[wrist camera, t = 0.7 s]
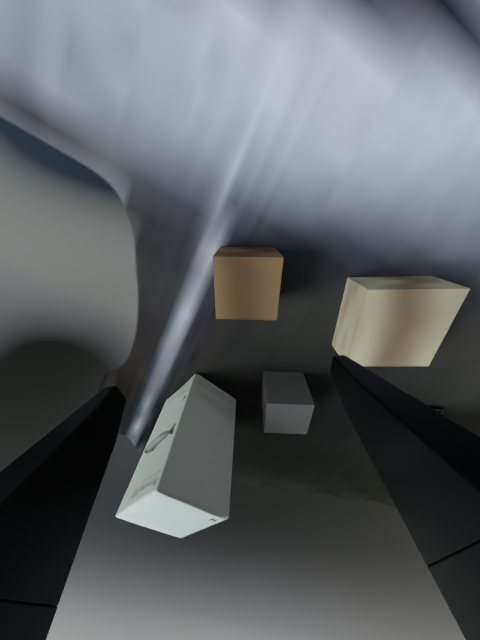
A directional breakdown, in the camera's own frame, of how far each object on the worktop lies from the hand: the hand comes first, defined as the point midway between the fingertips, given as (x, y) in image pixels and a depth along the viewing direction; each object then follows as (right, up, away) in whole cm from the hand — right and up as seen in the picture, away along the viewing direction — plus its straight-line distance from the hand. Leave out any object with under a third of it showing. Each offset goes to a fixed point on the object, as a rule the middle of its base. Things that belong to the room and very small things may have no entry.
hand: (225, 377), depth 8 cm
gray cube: (+6, -6, +18) cm, 20 cm away
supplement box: (-5, -9, +20) cm, 22 cm away
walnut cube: (+1, +7, +11) cm, 13 cm away
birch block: (+15, +3, +13) cm, 20 cm away
